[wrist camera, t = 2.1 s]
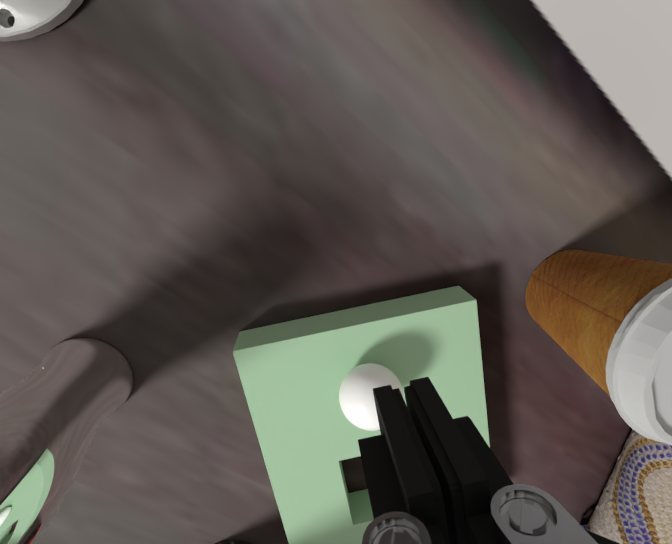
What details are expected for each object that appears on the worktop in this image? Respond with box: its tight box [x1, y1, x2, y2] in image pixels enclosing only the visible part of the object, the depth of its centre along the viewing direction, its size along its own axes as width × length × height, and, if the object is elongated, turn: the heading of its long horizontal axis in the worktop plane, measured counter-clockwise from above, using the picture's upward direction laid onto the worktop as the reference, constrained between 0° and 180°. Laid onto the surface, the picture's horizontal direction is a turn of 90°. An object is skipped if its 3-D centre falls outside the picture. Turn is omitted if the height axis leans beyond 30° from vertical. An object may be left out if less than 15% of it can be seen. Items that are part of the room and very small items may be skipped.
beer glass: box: [0, 338, 133, 544], centre depth 21 cm, size 7×7×15 cm
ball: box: [339, 363, 404, 431], centre depth 25 cm, size 4×4×4 cm
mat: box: [233, 286, 490, 544], centre depth 25 cm, size 20×16×13 cm
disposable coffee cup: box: [525, 249, 672, 445], centre depth 24 cm, size 10×10×12 cm
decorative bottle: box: [581, 429, 672, 544], centre depth 33 cm, size 26×8×7 cm, turn 167°
